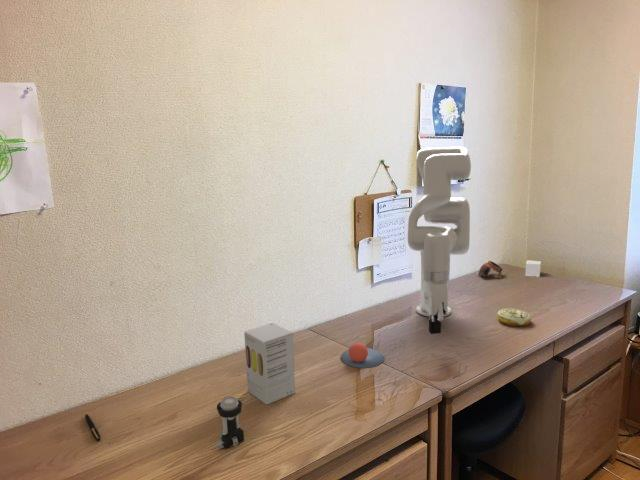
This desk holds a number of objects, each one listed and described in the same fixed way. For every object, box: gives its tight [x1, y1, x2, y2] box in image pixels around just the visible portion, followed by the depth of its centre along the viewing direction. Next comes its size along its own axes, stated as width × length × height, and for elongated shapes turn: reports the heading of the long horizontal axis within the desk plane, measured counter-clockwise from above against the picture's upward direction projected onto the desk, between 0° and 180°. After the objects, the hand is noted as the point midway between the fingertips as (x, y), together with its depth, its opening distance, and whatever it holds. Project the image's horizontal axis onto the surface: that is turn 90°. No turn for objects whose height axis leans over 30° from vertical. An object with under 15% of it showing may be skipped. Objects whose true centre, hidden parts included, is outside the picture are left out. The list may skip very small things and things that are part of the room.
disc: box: [340, 347, 385, 369], centre depth 144 cm, size 13×13×1 cm
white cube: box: [524, 259, 542, 278], centre depth 223 cm, size 6×6×6 cm
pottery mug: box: [477, 260, 503, 279], centre depth 221 cm, size 12×10×8 cm
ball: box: [348, 342, 368, 363], centre depth 141 cm, size 6×6×6 cm
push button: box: [214, 396, 245, 450], centre depth 104 cm, size 7×5×10 cm
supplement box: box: [243, 322, 296, 405], centre depth 125 cm, size 10×9×17 cm
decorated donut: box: [497, 308, 532, 327], centre depth 168 cm, size 10×11×4 cm
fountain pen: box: [84, 412, 101, 442], centre depth 112 cm, size 14×1×2 cm, turn 37°
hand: (434, 332), depth 146 cm, fingers closed
